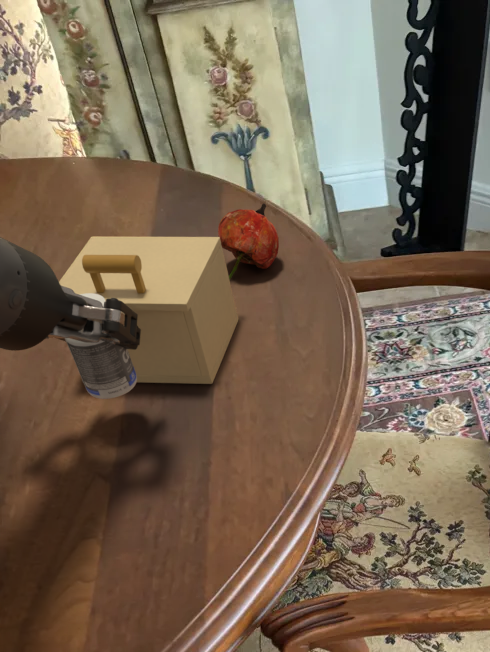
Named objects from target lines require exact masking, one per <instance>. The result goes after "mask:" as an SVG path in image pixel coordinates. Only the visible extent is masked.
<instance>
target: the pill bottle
mask: <svg viewBox="0 0 490 652" xmlns="http://www.w3.org/2000/svg"><path fill="white" fill-rule="evenodd" d="M80 295H82V296H85V297H88V298H91V299H94V300H98V301H100V302H101V303H102V305H103V308H104V302H106V300H105V299H104V297H103V296H101V295H98V294H94V293H86V294H80ZM101 331H102V324H101ZM78 332H81V333H82V332H83V329H82V330H81V331H78ZM105 334H106V333H105ZM65 340H66V342H65V343H66V344H67V347H68V349H69V352H70V354H71V357H72V359H73V361H74V364H75V366H76V368H77V371H78V374H79V376H80V378H81V382H82V383H83V385H84V387H85V390H86V391H87V393H88V394H89V395H90V396H91V397H93V398H95V399H100V400H109V399H116V398H118V397H122V396H124V395H126V394H127V393H129V392H130V391H131V390H133V389H134V387H135V386H136V384H137V383H138V382H137V375H136V372H135V369H134V366H133V363H132V361H131V358H130V355H129V352H128V349H126V348H124V347H121V346H118V345H113V344H109V342H105V341H101V340H100V341H99V342H97V343H86V342H82V341H78V340H74V339H70V338H65Z"/></svg>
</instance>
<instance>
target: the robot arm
mask: <svg viewBox="0 0 490 652" xmlns="http://www.w3.org/2000/svg"><path fill="white" fill-rule="evenodd" d="M59 281H60V280H58V277H57V275H56V273H55V272H54V270H53V269H52V267H51V266H50V265H49V264H48V263H47V262H46V261H45V260H44V259H43V258H42V257H40V256H39V255H37V254H35V253H34V252H32V251H30V250H27V249H26V248H24V247H22V246H20V245H17V244H15V243H14V242H11V241H9V240H7V239H5V238H3V237H1V236H0V349H2V350H6V351H14V352H15V351H25V350H28V349H31V348H33V347H36V346H38V345H39V344H41V343H42V342H43V341H44V340H49V339H53V338H54V339H57V340H58V341H59V340H60V341H63V342H65V343H66V340H65V338H70V339H74V340H78V341H82V342H86V343H97V342H99V341H100V340H101V341H105V342H109V344H113V345H118V346H121V347H124V348H126V349H132V350H136V349H137V347H138V345H140V335H141V329H140V328H139V327H138V326H137V318H138V314H137V313H135V312H134V311H133V310H132V309H130V308H129V307H128V306H127V305H126V304H124V303H123V302H122V301H120V300H118V299H116V298H111V299H106V302H104V308H103V305H102V303H101V302H100V301H98V300H94V299H91V298H88V297H85V296H82V295H79V294H76V293H74V291H73V290H72V289H70V288H67V287H64V286H61V285H60V283H59ZM101 324H102V331H101ZM82 329H83V332H82V333H81V332H78V331H81V330H82ZM105 333H106V334H105Z"/></svg>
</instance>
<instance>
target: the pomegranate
mask: <svg viewBox="0 0 490 652" xmlns="http://www.w3.org/2000/svg"><path fill="white" fill-rule="evenodd" d="M266 208H267V204H266V203H265V202H264V203H262V204H261V206H260V207H259V208H258V209H257V210H253V209H241V208H239V209H235V210H233V211H229V212H227V213H226V214H225V215H224V216H223V217H222V218H221V219H220V221H219V223H218V226H217V227H218V229H217V237H220V240H221V245H222V249H223V250H226V251H228V252H230V253H232V255H233V257H234V258H235V259H236V261H235V263H234V266H233V267H232V269H231V272H230V273H229V274H228V276H229V280H231V279H232V278H233V275H234V273H236V271H237V270H238V266H239V263H240V262H241V263H243V264H248V265H255V266H256V267H257V268H258V269H262V270H267V269H268V268H270V267H271V265H273V263H274V261H275V260H276V258H277V257H278V254H279V248H280V243H279V240H280V239H279V235H278V231H277V229H276V227H275V226H274V224H273V223H272V222H271V221H270V220H269V219H268V217H267V216H266V215H265V211H266Z"/></svg>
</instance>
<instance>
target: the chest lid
mask: <svg viewBox="0 0 490 652" xmlns="http://www.w3.org/2000/svg"><path fill="white" fill-rule="evenodd" d="M220 246H221V240H220V237H219V236H103V235H102V236H100V235H99V236H97V235H95V236H91V237H90V238H89V239H88V240H87V242H86V243H85V245H84V246H83V248H82V249H81V251H80V252H79V254H78V255H77V256H76V257H75V259H74V260H73V262H72V263H71V264H70V266H69V267H68V268H67V270H66V272H65V273H64V274H63V276H62V277H61V278H60V280H58V281H59V283H60V285H61V286H64V287H67V288H70V289H72V290H73V291H74V293H76V294H79V295H80V294H86V293H94V294H98V295H101V296H103V297H104V299H105V300H106V299H111V298H116V299H118V300H120V301H122V302H123V303H124V304H126V305H127V306H128V307H129V308H130V309H132V310H136V311H189V309H190V307H191V305H192V303H193V301H194V299H195V297H196V295H197V292H198V290H199V288H200V286H201V284H202V282H203V280H204V278H205V276H206V274H207V272H208V270H209V268H210V266H211V264H212V262H213V260H214V258H215V256H216V254H217V252H218V250H219V248H220Z"/></svg>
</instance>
